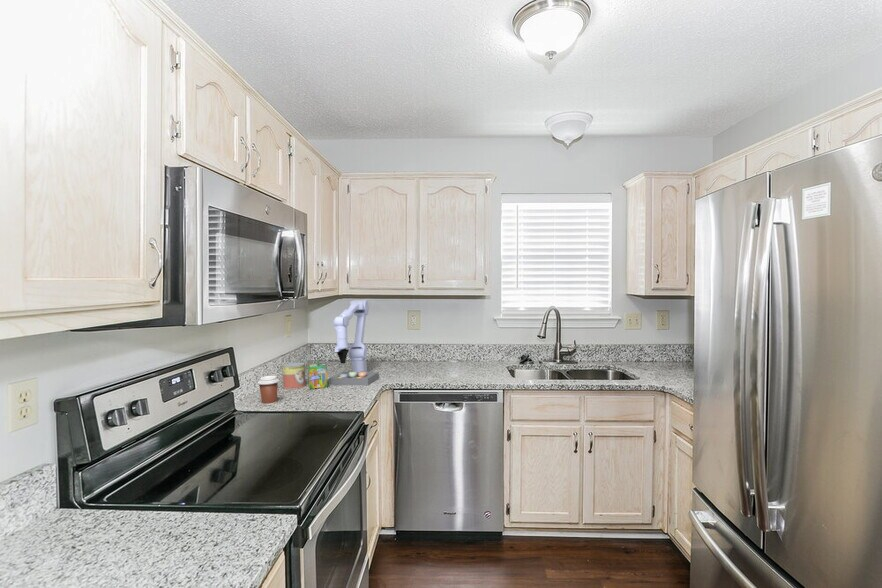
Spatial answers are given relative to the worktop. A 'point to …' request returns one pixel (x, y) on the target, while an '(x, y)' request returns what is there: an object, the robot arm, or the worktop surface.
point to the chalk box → (317, 375)
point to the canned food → (294, 375)
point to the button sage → (352, 374)
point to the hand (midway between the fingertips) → (343, 363)
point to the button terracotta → (362, 374)
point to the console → (354, 379)
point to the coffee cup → (268, 389)
